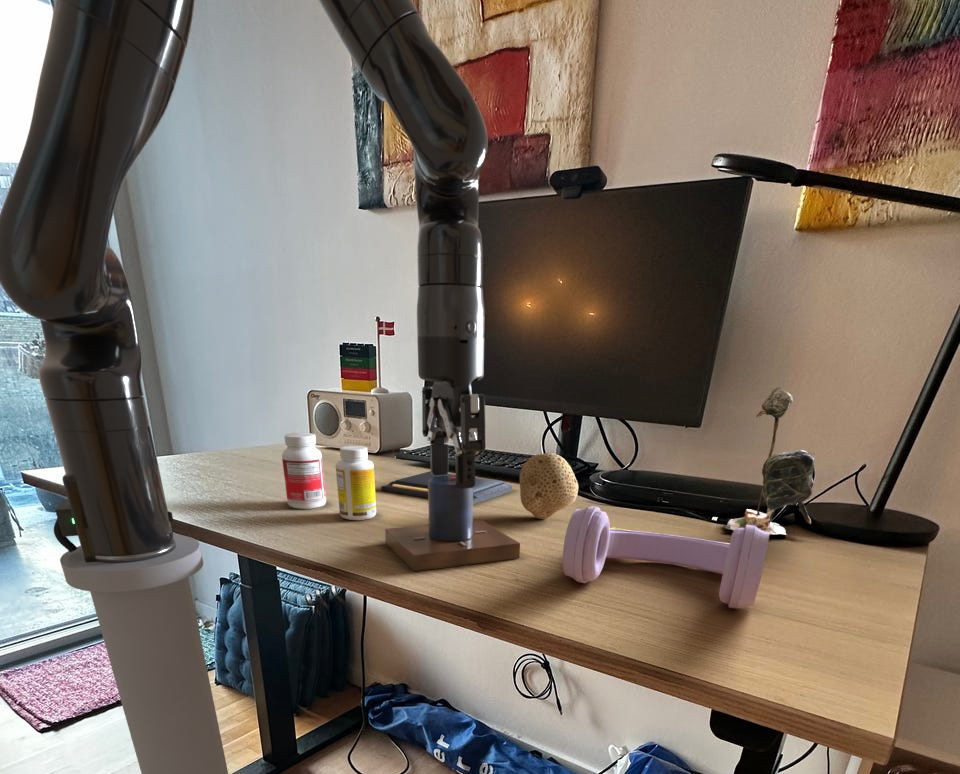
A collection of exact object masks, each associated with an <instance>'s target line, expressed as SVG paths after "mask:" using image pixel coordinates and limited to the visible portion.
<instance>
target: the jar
mask: <svg viewBox="0 0 960 774" xmlns="http://www.w3.org/2000/svg"><path fill="white" fill-rule="evenodd" d="M427 502H428V503H427V505H428V507H427V508H428V525H429V536H430V537H431V538H432V539H435V540H439V541H449V542H454V541H463V540H467V539H470V538H471V537H472V532H473V521H474V505H473V488H465V489H460V488H458V487H457V486H456V476H439V477H433V478H430V479H429V480H428V498H427Z"/></svg>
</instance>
